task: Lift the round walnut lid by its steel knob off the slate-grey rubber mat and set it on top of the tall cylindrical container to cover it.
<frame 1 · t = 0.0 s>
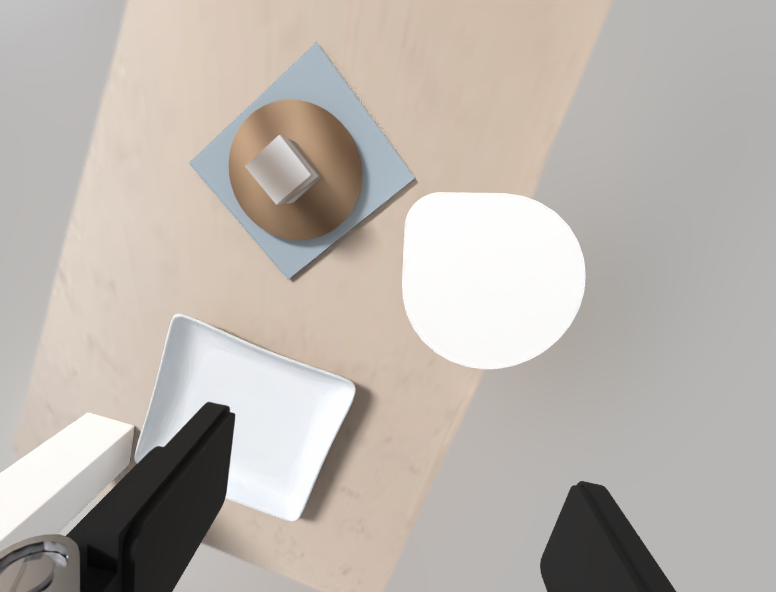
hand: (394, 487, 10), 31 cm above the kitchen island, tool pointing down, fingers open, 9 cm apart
cylindrical container: (439, 228, 39), on the kitchen island
milk: (110, 437, 48), on the kitchen island
lid: (297, 173, 38), resting on mat
mat: (302, 170, 38), on the kitchen island
salad plate: (251, 410, 47), on the kitchen island
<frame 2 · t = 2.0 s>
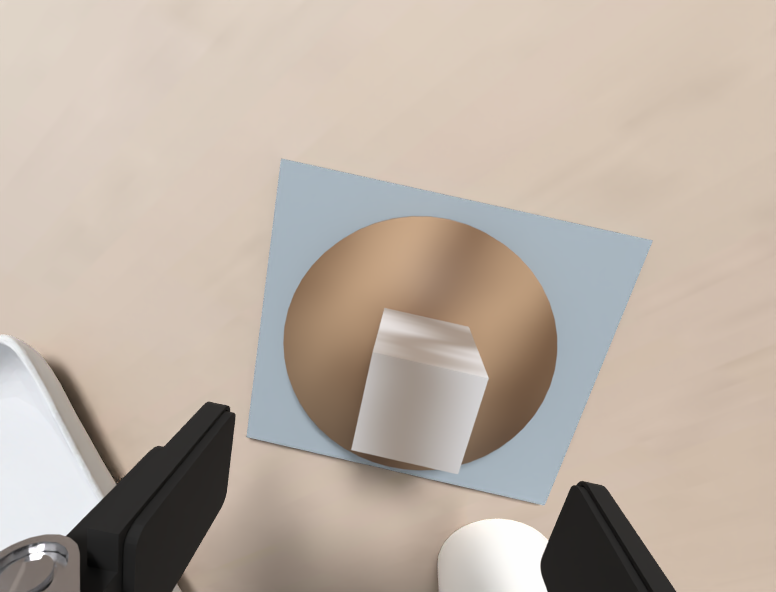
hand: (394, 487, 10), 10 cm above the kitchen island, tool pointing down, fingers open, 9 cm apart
cylindrical container: (495, 563, 23), on the kitchen island
lid: (416, 347, 19), resting on mat
mat: (426, 346, 20), on the kitchen island
salad plate: (18, 495, 25), on the kitchen island
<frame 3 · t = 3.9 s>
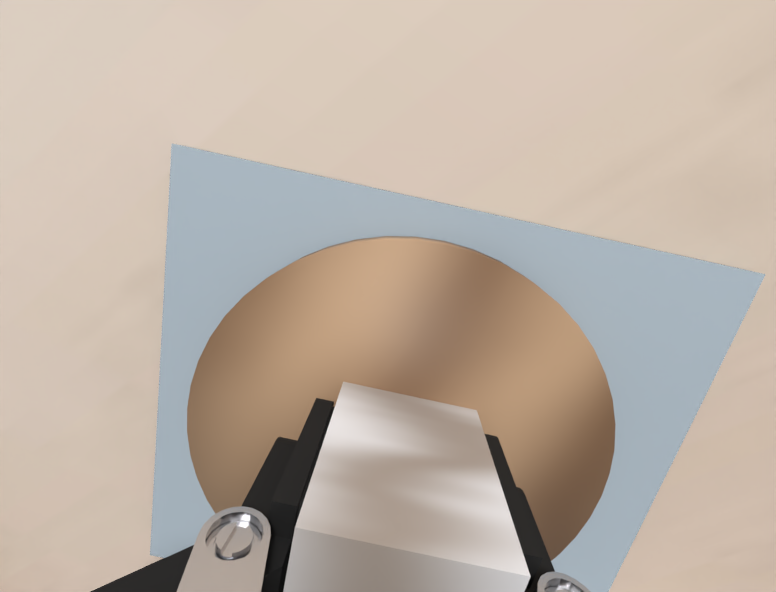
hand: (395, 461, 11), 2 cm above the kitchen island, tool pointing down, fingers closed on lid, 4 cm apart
lid: (396, 432, 13), resting on mat, touching gripper
mat: (411, 426, 13), on the kitchen island
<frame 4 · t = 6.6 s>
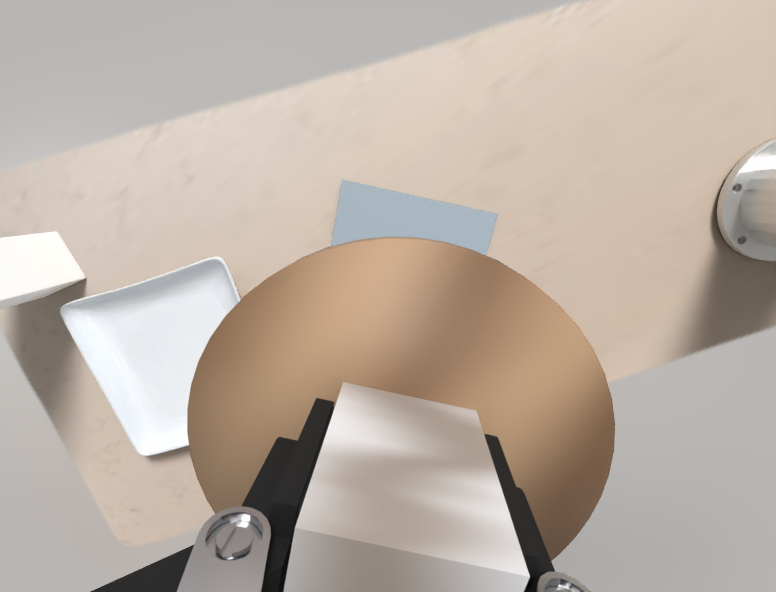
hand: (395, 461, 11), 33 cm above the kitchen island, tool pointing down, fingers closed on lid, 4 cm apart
milk: (53, 264, 45), on the kitchen island
lid: (396, 433, 13), point 32 cm above the kitchen island, touching gripper
mat: (404, 263, 43), on the kitchen island
salad plate: (192, 353, 48), on the kitchen island
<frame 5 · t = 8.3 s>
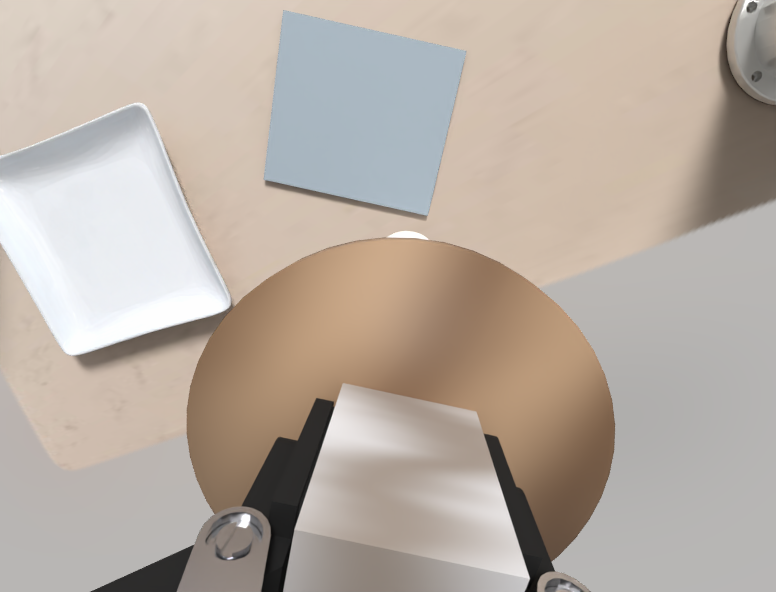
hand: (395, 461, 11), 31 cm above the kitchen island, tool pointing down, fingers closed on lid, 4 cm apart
lid: (396, 434, 13), point 29 cm above the kitchen island, touching gripper
mat: (360, 119, 37), on the kitchen island
salad plate: (124, 238, 42), on the kitchen island
when the fingers open (28 cm above the kitchen island, at t = 9.4 s): lid drops 1 cm, resting on cylindrical container.
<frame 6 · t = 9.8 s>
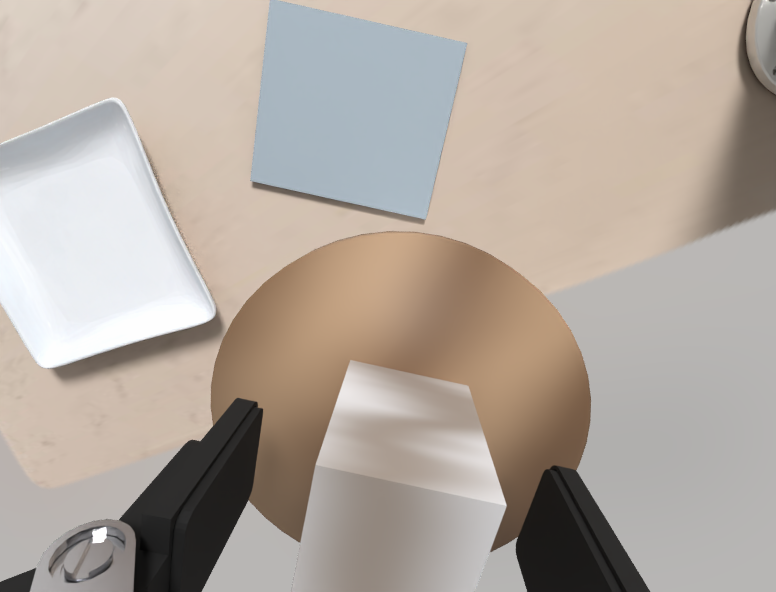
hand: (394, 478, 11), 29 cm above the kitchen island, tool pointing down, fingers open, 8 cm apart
lid: (397, 408, 14), point 25 cm above the kitchen island, touching cylindrical container
mat: (353, 116, 35), on the kitchen island
salad plate: (102, 243, 39), on the kitchen island
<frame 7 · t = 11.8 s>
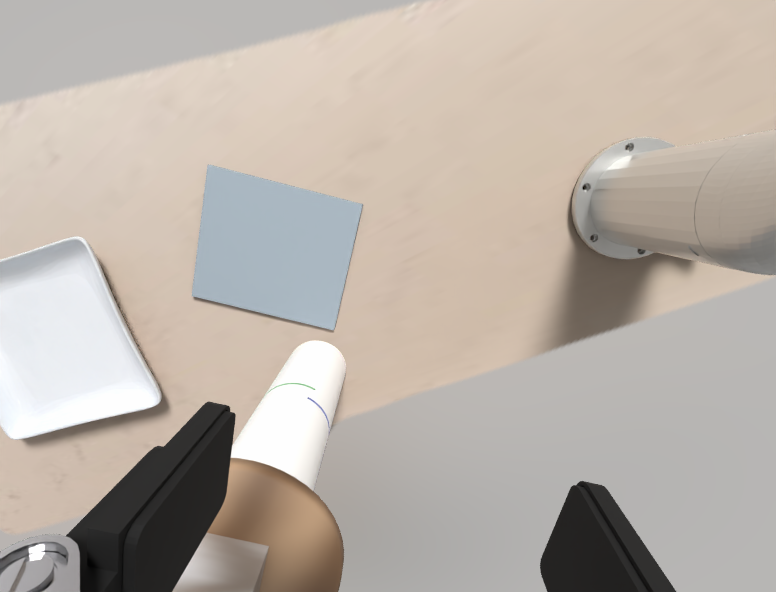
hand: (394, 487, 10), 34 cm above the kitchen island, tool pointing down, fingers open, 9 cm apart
cylindrical container: (317, 366, 47), on the kitchen island, touching lid
lid: (236, 549, 23), point 25 cm above the kitchen island, touching cylindrical container
mat: (275, 251, 43), on the kitchen island
salad plate: (67, 336, 47), on the kitchen island
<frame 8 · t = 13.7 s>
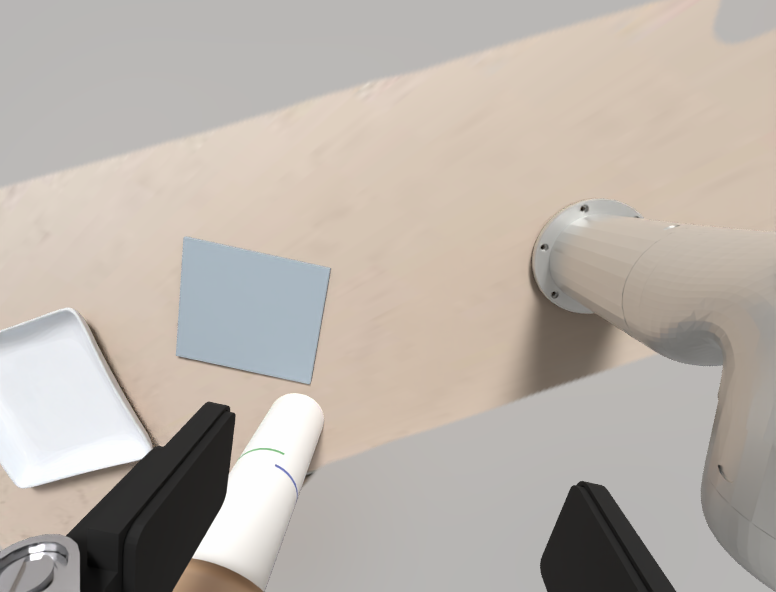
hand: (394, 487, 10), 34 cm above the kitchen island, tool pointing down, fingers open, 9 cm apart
cylindrical container: (297, 417, 50), on the kitchen island, touching lid
mat: (251, 312, 46), on the kitchen island
salad plate: (66, 392, 51), on the kitchen island
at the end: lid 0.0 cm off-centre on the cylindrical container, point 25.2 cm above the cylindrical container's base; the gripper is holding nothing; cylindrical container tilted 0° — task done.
